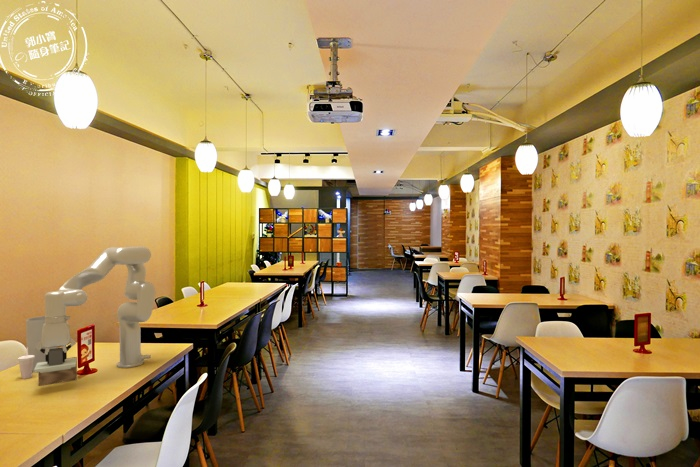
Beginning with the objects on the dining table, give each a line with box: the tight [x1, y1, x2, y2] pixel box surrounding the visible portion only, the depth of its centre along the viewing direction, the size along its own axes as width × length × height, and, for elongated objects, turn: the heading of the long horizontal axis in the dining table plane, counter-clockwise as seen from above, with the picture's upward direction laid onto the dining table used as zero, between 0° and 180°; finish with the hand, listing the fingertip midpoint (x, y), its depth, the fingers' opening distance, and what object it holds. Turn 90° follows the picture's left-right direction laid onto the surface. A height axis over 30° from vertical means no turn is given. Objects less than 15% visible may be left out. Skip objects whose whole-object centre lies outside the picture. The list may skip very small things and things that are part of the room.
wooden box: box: [37, 356, 78, 386], centre depth 198 cm, size 14×11×8 cm
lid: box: [33, 346, 76, 373], centre depth 186 cm, size 14×11×8 cm
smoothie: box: [17, 347, 35, 380], centre depth 201 cm, size 6×6×14 cm
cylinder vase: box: [25, 315, 58, 373], centre depth 214 cm, size 12×12×25 cm
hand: (56, 361), depth 186 cm, fingers closed on lid, 4 cm apart
